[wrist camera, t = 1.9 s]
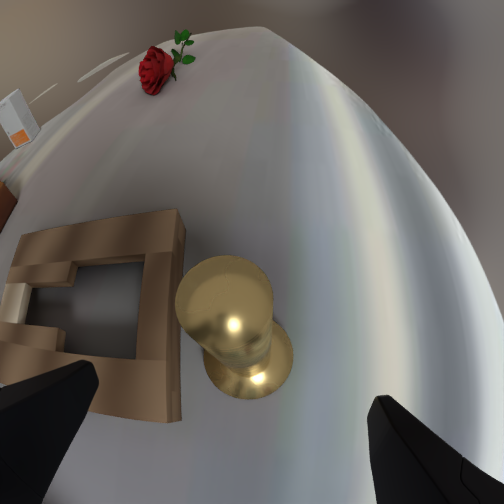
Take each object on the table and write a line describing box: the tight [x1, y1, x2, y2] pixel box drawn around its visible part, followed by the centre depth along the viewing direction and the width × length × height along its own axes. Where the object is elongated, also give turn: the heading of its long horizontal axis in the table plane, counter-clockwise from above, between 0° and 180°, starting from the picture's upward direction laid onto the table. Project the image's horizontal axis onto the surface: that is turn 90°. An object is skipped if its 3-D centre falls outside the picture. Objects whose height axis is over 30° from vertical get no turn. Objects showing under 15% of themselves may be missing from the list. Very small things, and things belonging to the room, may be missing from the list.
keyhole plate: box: [0, 209, 186, 423], centre depth 18 cm, size 18×15×3 cm
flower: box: [139, 30, 196, 95], centre depth 41 cm, size 9×10×30 cm
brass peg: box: [175, 255, 293, 399], centre depth 12 cm, size 6×6×11 cm
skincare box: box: [0, 89, 40, 149], centre depth 33 cm, size 6×4×12 cm
